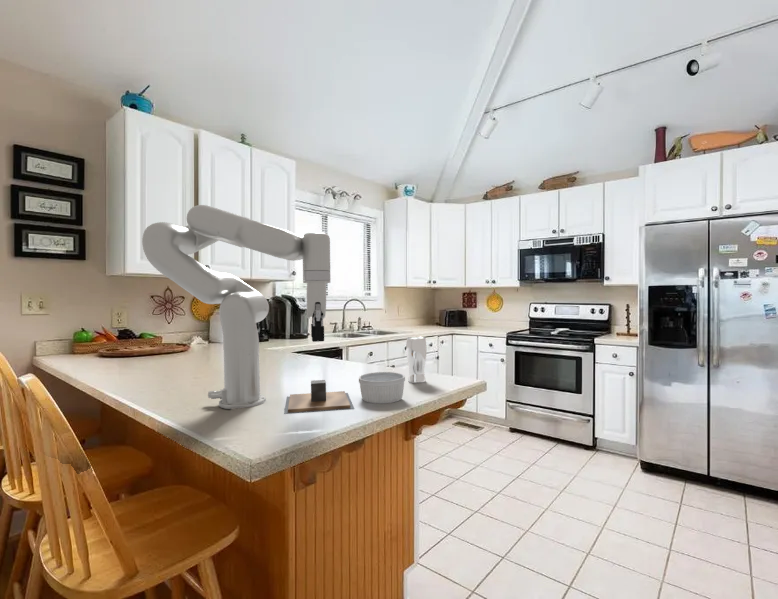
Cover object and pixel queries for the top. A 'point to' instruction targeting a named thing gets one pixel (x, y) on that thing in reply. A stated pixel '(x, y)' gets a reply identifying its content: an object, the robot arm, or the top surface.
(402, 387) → the ramekin
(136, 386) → the top surface
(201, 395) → the top surface
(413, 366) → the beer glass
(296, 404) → the lid
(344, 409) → the mat
